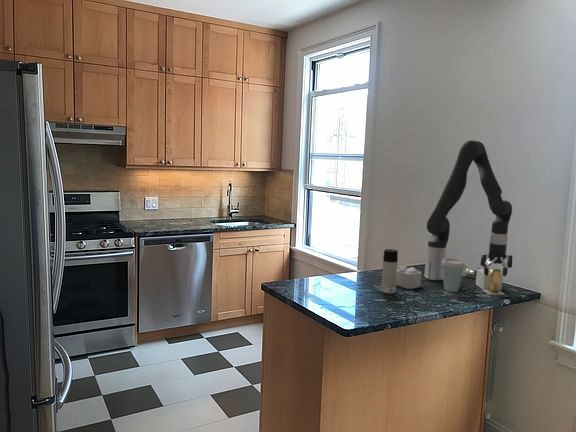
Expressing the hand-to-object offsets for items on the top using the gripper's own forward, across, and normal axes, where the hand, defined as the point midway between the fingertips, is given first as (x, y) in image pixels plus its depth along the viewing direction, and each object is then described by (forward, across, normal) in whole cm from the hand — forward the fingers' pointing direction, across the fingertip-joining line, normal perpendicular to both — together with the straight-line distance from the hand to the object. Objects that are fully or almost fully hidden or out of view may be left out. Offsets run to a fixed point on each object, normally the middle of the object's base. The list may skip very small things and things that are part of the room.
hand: (495, 275), depth 229 cm
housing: (+8, -2, -10) cm, 13 cm away
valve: (+9, +1, -28) cm, 29 cm away
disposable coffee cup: (+9, +20, -2) cm, 22 cm away
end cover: (+8, 0, 0) cm, 8 cm away
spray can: (+9, +52, +4) cm, 53 cm away
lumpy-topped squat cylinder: (+9, +40, -10) cm, 42 cm away
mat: (+8, 0, 0) cm, 8 cm away
